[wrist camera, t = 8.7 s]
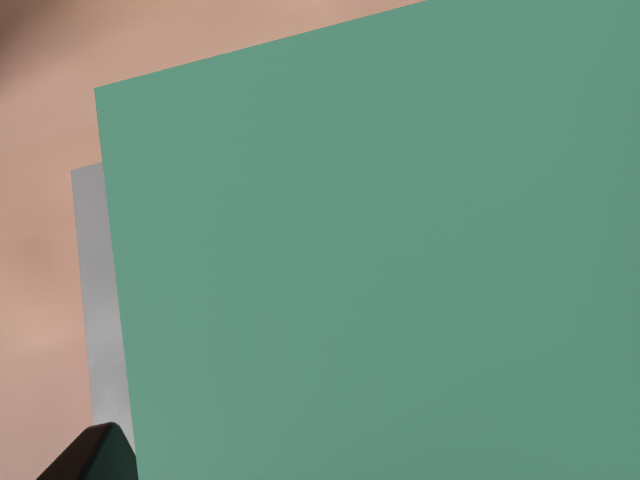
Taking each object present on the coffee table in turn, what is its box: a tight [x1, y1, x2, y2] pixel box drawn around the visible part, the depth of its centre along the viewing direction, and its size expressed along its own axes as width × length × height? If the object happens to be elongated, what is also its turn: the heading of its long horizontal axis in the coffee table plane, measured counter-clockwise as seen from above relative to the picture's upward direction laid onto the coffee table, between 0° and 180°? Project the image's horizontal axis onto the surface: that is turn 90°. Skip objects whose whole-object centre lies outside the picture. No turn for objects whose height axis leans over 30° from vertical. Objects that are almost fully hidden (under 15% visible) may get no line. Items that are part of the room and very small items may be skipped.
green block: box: [94, 0, 640, 480], centre depth 10 cm, size 5×5×12 cm
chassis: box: [71, 162, 136, 455], centre depth 16 cm, size 18×18×4 cm
